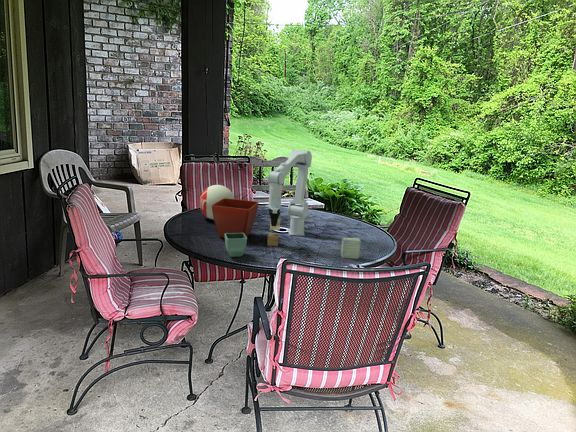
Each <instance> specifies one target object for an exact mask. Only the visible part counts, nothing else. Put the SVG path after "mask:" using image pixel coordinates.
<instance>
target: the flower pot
mask: <svg viewBox="0 0 576 432" xmlns="http://www.w3.org/2000/svg"><path fill="white" fill-rule="evenodd" d="M247 240H248V236H247V237H246V236H245V234H244V233H225V238H224V243H225V248H226V251H227V252H228V255H229V257H230V258H234V257H243V255H244V254H245V252H246V249H247V243H248V241H247Z"/></svg>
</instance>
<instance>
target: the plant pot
mask: <svg viewBox="0 0 576 432" xmlns="http://www.w3.org/2000/svg"><path fill="white" fill-rule="evenodd" d="M258 208H259V201H255V200H254V201H253V200H245V199H237V198H235V199H228V198H223V199H221V200H220V201H218V202H216V203H214V204H213V205H212V212H213V218H214V220H213V222H214V224H215V225H214V226H215V229H216V232H217V235H218V237H219V238H221V239H225V233H244V234H245V236H246V237H247V238H248V236H249V235H250V234H251V233H252V232H251V231H252V229H253V226H254V224H255V220H256V217H257V212H258Z"/></svg>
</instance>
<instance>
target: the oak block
mask: <svg viewBox="0 0 576 432" xmlns="http://www.w3.org/2000/svg"><path fill="white" fill-rule="evenodd" d="M269 221H270V222H269V230H270V231H280V230H281V216H279V217H278V221H277V225H276V226H272V225H271V219H270V220H269Z"/></svg>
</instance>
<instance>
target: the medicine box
mask: <svg viewBox="0 0 576 432" xmlns="http://www.w3.org/2000/svg"><path fill="white" fill-rule="evenodd" d="M361 243H362V241H361V239H360V238H359V237H341V246H340V256H341V258H342V259H355V260H358V259H360V250H361Z"/></svg>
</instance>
